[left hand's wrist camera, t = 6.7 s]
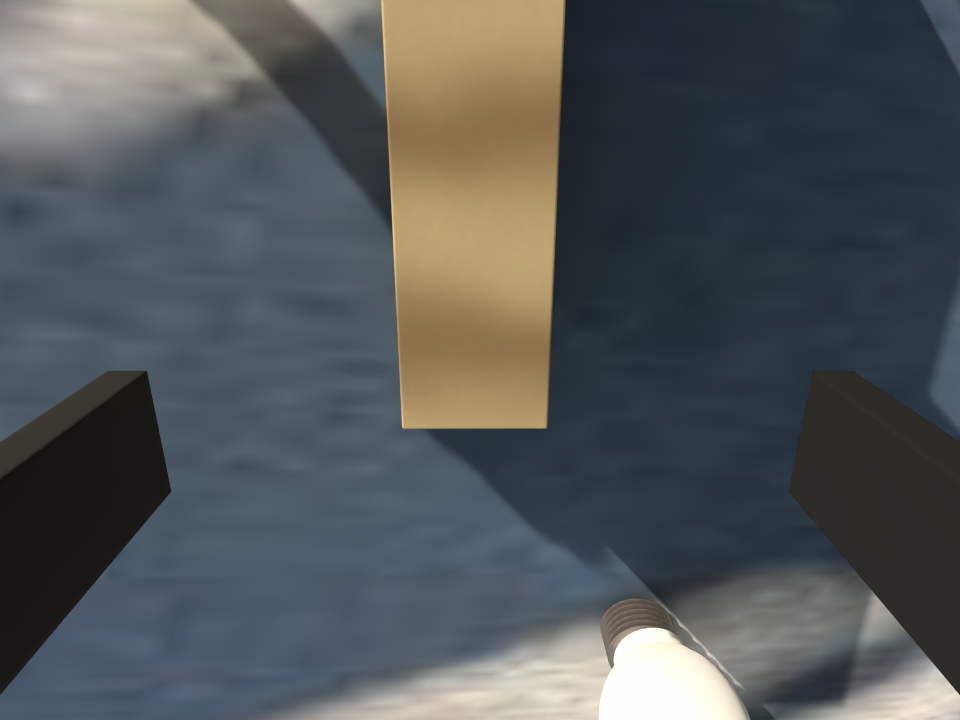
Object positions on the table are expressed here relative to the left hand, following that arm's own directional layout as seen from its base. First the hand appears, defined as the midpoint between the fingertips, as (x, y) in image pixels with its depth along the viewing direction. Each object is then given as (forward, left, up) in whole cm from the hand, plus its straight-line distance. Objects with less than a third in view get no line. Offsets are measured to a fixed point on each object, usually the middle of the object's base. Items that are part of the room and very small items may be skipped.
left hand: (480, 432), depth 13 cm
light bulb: (+9, -20, -16) cm, 27 cm away
